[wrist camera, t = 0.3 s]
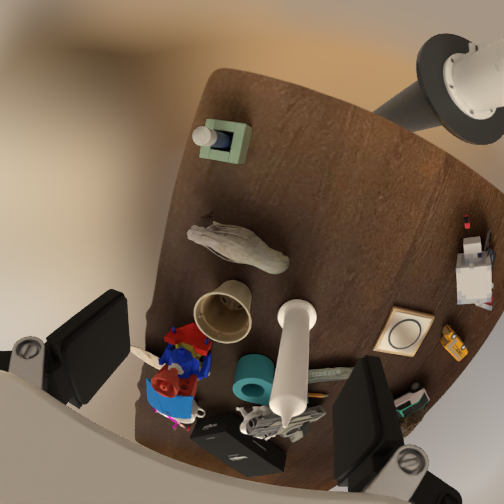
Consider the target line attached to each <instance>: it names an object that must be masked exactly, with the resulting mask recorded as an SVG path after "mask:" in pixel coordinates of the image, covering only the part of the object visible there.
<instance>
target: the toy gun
mask: <svg viewBox="0 0 504 504" xmlns="http://www.w3.org/2000/svg"><path fill="white" fill-rule="evenodd" d="M325 414H326V412H325V411H324V409H323V408H322V406H321V405H318V406H316V407H311V408H306V409H305V411H304V412H303V413H301V414H300V415H298V416H294V417H292V418H291V420H290V422H289V424H288V426H287V428H284V427H283V425H282V418H281V416H279V415H277V414H275V413H271V414H270V415H264V416H263V415H260V416H256V417H253V418H252V419H250V420H249V421H248V423H247V424H246V432H247V434H248V435H252V436H253V438H254V437H260V436H262V435H265V434H268V435H269V436H274V435H278V434H280V436H281V437H288V436H289V438H290V439H291V441H292V442H295V441H296V440H298V439H300V438H302V437H304V436H305V435H306V434H307V432H308V431H309V424H310V423H311V422H313V421H316V420H318V419H319V418H321V417H322V416H324V415H325Z"/></svg>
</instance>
